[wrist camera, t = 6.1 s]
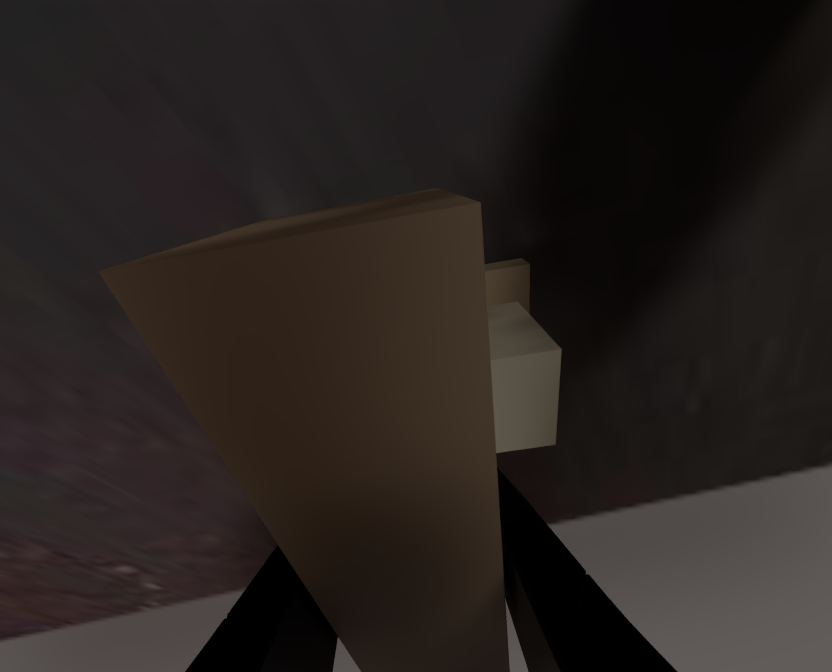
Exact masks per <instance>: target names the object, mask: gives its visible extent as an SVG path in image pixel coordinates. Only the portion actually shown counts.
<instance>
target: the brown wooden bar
mask: <svg viewBox="0 0 832 672" xmlns="http://www.w3.org/2000/svg"><path fill="white" fill-rule="evenodd" d="M98 272H99V274H100V275H101V277H102V278H103V280H104V281H105V283H106V284H107V286H108V287H109V289H110V290H111V292H112V293H113V295H114V297H115V298H116V300H117V301H118V303H119V304H120V306H121V307H122V309H123V310H124V312H125V313H126V315H127V316H128V318H129V319H130V321H131V322H132V324H133V325H134V327H135V328H136V330H137V331H138V333H139V335H140V336H141V338H142V339H143V341H144V342H145V344H146V345H147V347H148V348H149V350H150V351H151V353H152V354H153V356H154V357H155V359H156V360H157V362H158V363H159V365H160V366H161V368H162V369H163V371H164V373H165V374H166V376H167V377H168V379H169V380H170V382H171V383H172V385H173V386H174V388H175V389H176V391H177V392H178V394H179V395H180V397H181V398H182V400H183V401H184V403H185V404H186V406H187V407H188V409H189V411H190V412H191V414H192V415H193V417H194V418H195V420H196V421H197V423H198V424H199V426H200V427H201V429H202V430H203V432H204V433H205V435H206V436H207V438H208V439H209V441H210V442H211V444H212V445H213V447H214V449H215V450H216V452H217V453H218V455H219V456H220V458H221V459H222V461H223V462H224V464H225V465H226V467H227V468H228V470H229V471H230V473H231V474H232V476H233V477H234V479H235V480H236V482H237V483H238V485H239V487H240V488H241V490H242V491H243V493H244V494H245V496H246V497H247V499H248V500H249V502H250V503H251V505H252V506H253V508H254V509H255V511H256V512H257V514H258V515H259V517H260V518H261V520H262V521H263V523H264V525H265V526H266V528H267V529H268V531H269V532H270V534H271V535H272V537H273V538H274V540H275V541H276V543H277V544H278V546H279V547H280V549H281V550H282V552H283V553H284V555H285V556H286V558H287V559H288V561H289V563H290V564H291V566H292V567H293V569H294V570H295V572H296V573H297V575H298V576H299V578H300V579H301V581H302V582H303V584H304V585H305V587H306V588H307V590H308V591H309V593H310V594H311V596H312V597H313V599H314V601H315V602H316V604H317V605H318V607H319V608H320V610H321V611H322V613H323V614H324V616H325V617H326V619H327V620H328V622H329V623H330V625H331V626H332V628H333V629H334V631H335V632H336V634H337V635H338V637H339V639H340V640H341V642H342V643H343V644H344V646H345V648H346V649H347V651H348V652H349V654H350V655H351V657H352V658H353V660H354V661H355V663H356V664H357V666H358V667H359V669H360V670H361V672H510V671H509V653H508V638H507V621H506V605H505V588H504V572H503V556H502V539H501V523H500V507H499V491H498V474H497V458H496V442H495V426H494V409H493V393H492V377H491V361H490V344H489V328H488V312H487V296H486V279H485V263H484V247H483V231H482V214H481V202H478V201H475V200H472V199H469V198H466V197H463V196H460V195H457V194H454V193H451V192H448V191H445V190H442V189H439V188H435V189H430V190H424V191H419V192H414V193H408V194H403V195H397V196H392V197H386V198H381V199H375V200H370V201H365V202H359V203H354V204H348V205H343V206H337V207H332V208H326V209H321V210H316V211H310V212H305V213H299V214H294V215H288V216H283V217H278V218H272V219H267V220H264V221H261V222H257V223H254V224H251V225H248V226H244V227H241V228H238V229H234V230H231V231H228V232H225V233H221V234H218V235H215V236H212V237H208V238H205V239H202V240H199V241H195V242H192V243H189V244H186V245H182V246H179V247H176V248H173V249H169V250H166V251H163V252H160V253H156V254H153V255H150V256H147V257H143V258H140V259H137V260H134V261H130V262H127V263H124V264H120V265H117V266H114V267H111V268H107V269H104V270H101V271H98Z"/></svg>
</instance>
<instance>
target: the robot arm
mask: <svg viewBox="0 0 832 672" xmlns="http://www.w3.org/2000/svg"><path fill="white" fill-rule="evenodd" d="M497 474H498V491H499V507H500V523H501V539H502V556H503V572H504V588H505V599H506V602H507V605H508V608H509V611H510V614H511V617H512V620H513V624H514V627H515V630H516V633H517V636H518V639H519V642H520V646H521V649H522V652H523V655H524V658H525V661H526V664H527V668H528V671H529V672H677V671H676V670H675V669H674V668H673V667H672V666H671V665H670V664H669V663H668V662H667V661H666V659H665V658H663V656H662V655H661V654H659V653H658V651H657V650H656V649H655V648H654V647H653V646H652V645H651V644H650V643H649V642H648V641H647V640H646V639H645V638H644V636H642V634H641V633H640V632H639V631H638V630H637V629H636V628H635V627H634V626H633V625H632V624H631V623H630V622H629V621H628V619H627V618H626V617H625V616H624V615H623V614H622V613H621V611H620V610H619V609H618V608H617V607H616V606H615V605H614V603H613V602H612V601H611V600H610V599H609V598H608V597H607V595H606V594H605V593H604V592H603V591H602V590H601V588H600V587H599V586H598V585H597V584H596V583H595V581H594V580H593V579H592V578H591V576H590V575H588V574H587V575H586V571H585V569H584V568H583V567H582V566H581V565H580V563H579V562H578V561H577V560H576V559H575V557H574V556H573V555H572V554H571V553H570V551H569V550H568V549H567V548H566V547H565V546H564V544H563V543H562V542H561V541H560V540H559V538H558V537H557V536H556V535H555V534H554V532H553V531H552V530H551V529H550V528H549V526H548V525H547V524H546V523H545V522H544V520H543V519H542V518H541V517H540V516H539V514H538V513H537V512H536V511H535V510H534V508H533V507H532V506H531V505H530V504H529V502H528V501H527V500H526V499H525V498H524V496H523V495H522V494H521V493H520V492H519V490H518V489H517V488H516V487H515V486H514V484H513V483H512V482H511V481H510V480H509V478H508V477H507V476H506V475H505V474H504V473H503V471H502V470H501V469H500V468H499V467H498V465H497ZM337 638H338V635H337V634H336V632H335V631H334V629H333V628H332V626H331V625H330V623H329V622H328V620H327V619H326V617H325V616H324V614H323V613H322V611H321V610H320V608H319V607H318V605H317V604H316V602H315V601H314V599H313V597H312V596H311V594H310V593H309V591H308V590H307V588H306V587H305V585H304V584H303V582H302V581H301V579H300V578H299V576H298V575H297V573H296V572H295V570H294V569H293V567H292V566H291V564H290V563H289V561H288V559H287V558H286V556H285V555H284V553H283V552H282V550H281V549H280V547H279V546H278V545H277V547H276V548H275V550H274V551H273V552H272V554H271V555H270V556H269V558H268V559H267V561H266V562H265V563H264V565H263V566H262V568H261V569H260V570H259V572H258V573H257V574H256V576H255V577H254V579H253V580H252V581H251V583H250V584H249V585H248V587H247V588H246V590H245V591H244V592H243V594H242V595H241V597H240V598H239V599H238V601H237V602H236V604H235V605H234V606H233V608H232V609H231V610H230V612H229V613H228V615H227V619H224V620H223V621H222V623H221V624H220V625H219V627H218V628H217V630H216V631H215V632H214V634H213V635H212V636H211V638H210V639H209V641H208V642H207V643H206V645H205V646H204V647H203V649H202V650H201V651H200V653H199V654H198V655H197V657H196V658H195V659H194V661H193V662H192V663H191V665H190V666H189V667H188V669H187V670H186V671H185V672H332V671H333V665H334V658H335V651H336V645H337Z"/></svg>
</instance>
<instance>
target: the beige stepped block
mask: <svg viewBox="0 0 832 672" xmlns="http://www.w3.org/2000/svg"><path fill="white" fill-rule="evenodd" d="M485 279H486V296H487V312H488V328H489V344H490V361H491V377H492V393H493V409H494V426H495V442H496V453H500V452H507V451H514V450H521V449H528V448H535V447H542V446H549V445H556V429H557V414H558V398H559V382H560V367H561V351H562V349H561V348H560V347H559V346H558V345H557V344H556V343H555V342H554V340H553V339H552V338H551V337H550V336H549V335H548V334H547V333H546V332H545V331H544V330H543V328H542V327H541V326H540V325H539V324H538V323H537V322H536V321H535V320H534V319H533V318H532V316H531V315H530V264H529V263H528V262H526V261H525V260H524V259H522V258H519V259H513V260H507V261H501V262H495V263H489V264H485Z"/></svg>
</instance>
